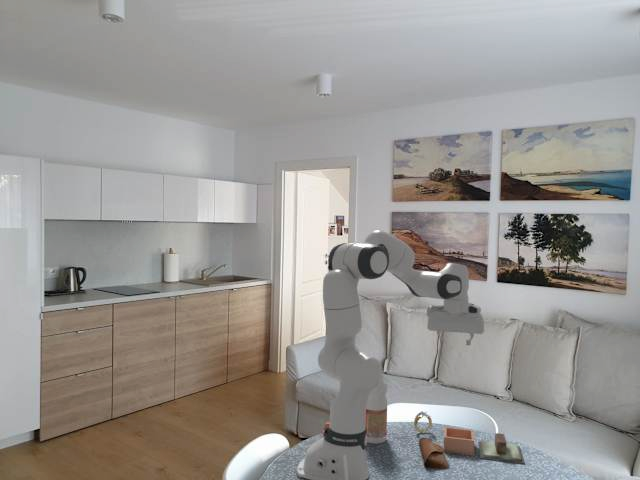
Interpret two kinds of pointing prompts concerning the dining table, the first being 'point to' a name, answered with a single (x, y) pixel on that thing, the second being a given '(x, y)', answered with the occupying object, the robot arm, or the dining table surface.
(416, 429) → the ring
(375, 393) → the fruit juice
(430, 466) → the sunglasses case
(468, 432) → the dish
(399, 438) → the dining table surface
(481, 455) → the mat
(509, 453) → the lid
